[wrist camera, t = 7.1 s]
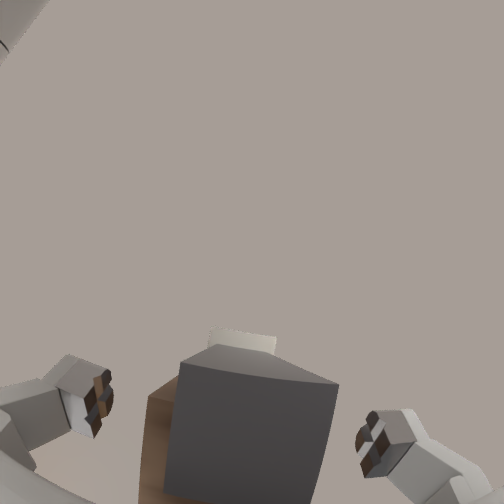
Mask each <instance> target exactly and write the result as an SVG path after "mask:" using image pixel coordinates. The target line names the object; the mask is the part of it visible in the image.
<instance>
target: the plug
mask: <svg viewBox="0 0 504 504" xmlns="http://www.w3.org/2000/svg"><path fill="white" fill-rule="evenodd" d="M276 339H277V337H273V336H266V335H259V334H253V333H247V332H241V331H235V330H230V329H225V328H219V327H214V326H212V327H211V331H210V336H209V342H208V347H207V349H206V350H204V351H202V352H200V353H198V354H196V355H194V356H192V357H190V358H188V359H186V360H184V361H182V362H181V363H180V370H179V375H178V382H177V388H176V394H175V401H174V408H173V415H172V422H171V429H170V436H169V444H168V452H167V460H166V469H165V478H164V488H163V493H165V494H169V495H173V496H177V497H182V498H187V499H191V500H197V501H202V502H208V503H214V504H310V502H311V499H312V496H313V493H314V489H315V486H316V483H317V479H318V476H319V472H320V468H321V465H322V461H323V457H324V453H325V449H326V445H327V441H328V437H329V432H330V427H331V423H332V418H333V414H334V409H335V404H336V399H337V394H338V388H339V384H337V383H335V382H332V381H330V380H327V379H325V378H323V377H320V376H318V375H316V374H313V373H311V372H309V371H306V370H304V369H302V368H300V367H297V366H295V365H293V364H291V363H289V362H286V361H284V360H282V359H280V358H278V357H275V356H274V352H275V346H276Z"/></svg>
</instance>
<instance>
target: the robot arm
mask: <svg viewBox="0 0 504 504" xmlns="http://www.w3.org/2000/svg"><path fill="white" fill-rule="evenodd" d="M48 1H49V0H0V65H1V64H2V63H3V61H4V60H5V58H6V57H7V55H8V54H9V53H10V52H11V50H12V49H13V48H14V46H15V45H16V44H17V42H18V41H19V40H20V38H21V37H22V36H23V34H24V33H25V32H26V31H27V29H28V28H29V27H30V25H31V24H32V23H33V21H34V20H35V19H36V17H37V16H38V15H39V13H40V12H41V10H42V9H43V8H44V7H45V5H46V4H47V3H48ZM111 380H112V378H111V371H110V370H108V369H106V368H103V367H101V366H98V365H95V364H93V363H91V362H88V361H85V360H83V359H80V358H77V357H75V356H72V355H70V354H68V355H65V356H64V357H63V358H62V359H61V360H60V361H59V362H58V363H57V364H56V365H55V366H54V367H53V368H52V369H51V370H50V371H49V373H47V374H46V376H44V378H43V379H42V380H40V379H34V380H30V381H26V382H22V383H18V384H14V385H10V386H6V387H2V388H0V504H95V503H93V502H91V501H88V500H86V499H84V498H82V497H79V496H77V495H75V494H73V493H71V492H69V491H67V490H65V489H63V488H61V487H59V486H57V485H56V484H54V483H52V482H50V481H48V480H47V479H45V478H43V477H41V476H40V475H38V474H36V473H35V472H34V470H35V469H36V464H35V462H34V460H33V458H32V457H31V455H30V453H29V451H31V450H33V449H35V448H37V447H39V446H41V445H43V444H45V443H47V442H49V441H51V440H53V439H56V438H57V437H59V436H61V435H63V434H65V433H67V432H69V431H71V430H73V431H76V432H78V433H80V434H83V435H85V436H88V437H90V438H93V439H94V438H95V436H96V435H97V433H98V431H99V430H100V428H101V426H102V422H101V418H104V417H106V416H108V414H109V412H110V411H111V408H112V404H113V396H114V395H113V389H112V388H111V387H110V385H109V383H110V381H111ZM366 421H367V424H366V425H364V426H363V427H361V428H360V430H359V432H358V434H357V436H356V442H355V447H356V451H357V454H358V455H359V456H361V457H362V458H363V459H362V461H361V463H360V465H361V468H362V471H363V475H364V478H374V477H384V476H387V478H388V479H389V480H390V481H391V482H392V483H393V484H394V485H395V486H396V487H397V488H398V489H399V490H400V491H401V492H402V493H403V494H404V495H405V496H407V497H408V498H409V499H410V500H411V501H412V502H413V503H414V504H504V486H502V487H500V488H499V489H497V490H495V491H494V490H493V489H492V487H491V485H490V483H489V482H488V480H487V478H486V476H485V475H484V473H483V471H482V470H481V468H480V467H479V466H477V465H476V464H474V463H472V462H470V461H469V460H467V459H465V458H464V457H462V456H460V455H458V454H457V453H455V452H454V451H452V450H450V449H449V448H447V447H445V446H444V445H442V444H441V443H439V442H437V441H436V440H434V439H432V440H430V438H429V436H428V434H427V433H426V431H425V429H424V427H423V426H422V424H421V422H420V420H419V419H418V417H417V415H416V413H415V412H414V411H413V410H412V409H399V410H382V411H381V410H380V411H372V412H370V413H369V414H368V416H367V418H366ZM70 429H71V430H70Z"/></svg>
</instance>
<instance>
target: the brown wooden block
mask: <svg viewBox="0 0 504 504" xmlns="http://www.w3.org/2000/svg"><path fill="white" fill-rule="evenodd" d="M177 382H178V376H176V377H175V378H173V379H172V380H171V381H169V382H168V383H166V384H165V385H163V386H162V387H161V388H159V389H158V390H156V391H155V392H153V393H152V394H150V395H149V396H148V402H147V410H146V419H145V427H144V435H143V446H142V457H141V468H140V482H139V500H138V504H214V503H208V502H202V501H197V500H191V499H187V498H182V497H177V496H173V495H169V494H165V493H163V488H164V478H165V469H166V460H167V452H168V444H169V436H170V429H171V422H172V415H173V408H174V401H175V394H176V388H177Z"/></svg>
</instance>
